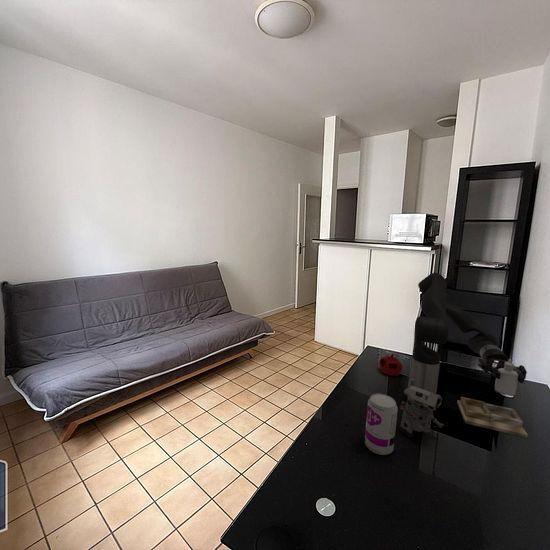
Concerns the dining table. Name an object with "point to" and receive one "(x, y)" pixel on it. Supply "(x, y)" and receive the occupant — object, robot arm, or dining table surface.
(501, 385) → the eye dropper bottle
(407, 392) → the figurine
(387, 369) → the pomegranate
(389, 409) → the supplement can
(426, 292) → the robot arm
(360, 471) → the dining table surface
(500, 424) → the wooden compartment tray
